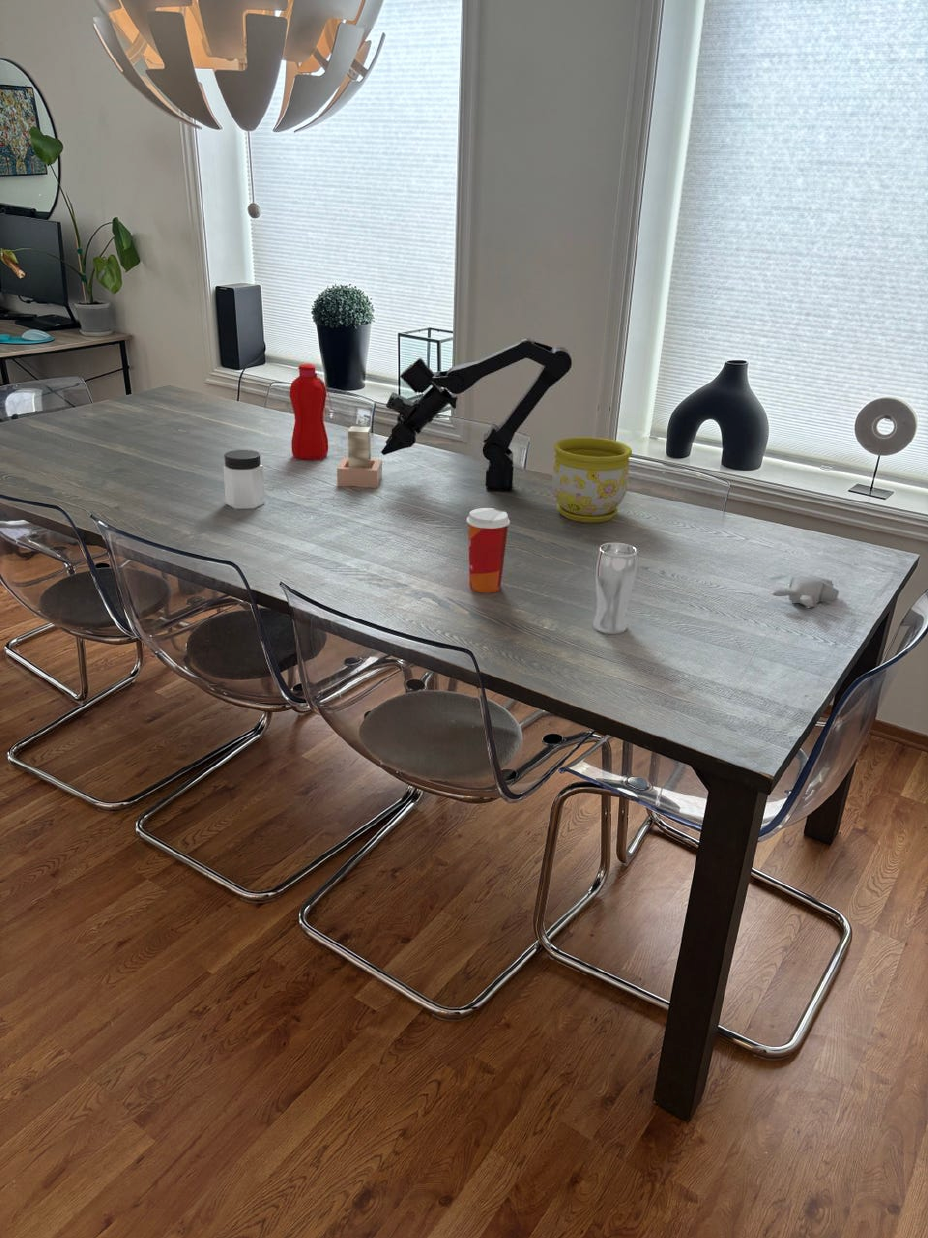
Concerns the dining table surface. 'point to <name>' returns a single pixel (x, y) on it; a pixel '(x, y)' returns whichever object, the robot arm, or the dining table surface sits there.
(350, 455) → the birch block
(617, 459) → the flowerpot
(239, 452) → the jar
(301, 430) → the water bottle
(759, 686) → the dining table surface
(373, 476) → the socket
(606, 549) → the beer glass
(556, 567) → the dining table surface
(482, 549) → the coffee cup
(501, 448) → the robot arm
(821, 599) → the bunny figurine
